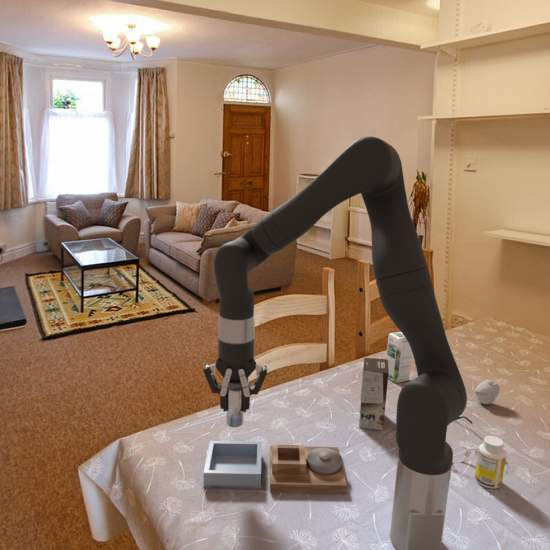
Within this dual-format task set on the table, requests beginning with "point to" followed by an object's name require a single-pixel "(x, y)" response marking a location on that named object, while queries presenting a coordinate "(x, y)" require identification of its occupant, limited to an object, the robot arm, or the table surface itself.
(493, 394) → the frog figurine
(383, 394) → the coffee box
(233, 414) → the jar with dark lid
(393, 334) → the syrup box
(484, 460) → the supplement bottle
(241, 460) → the tray
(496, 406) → the table surface
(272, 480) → the block
